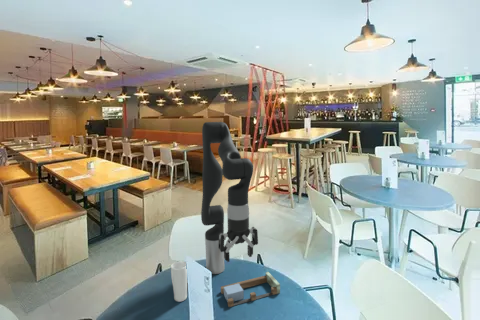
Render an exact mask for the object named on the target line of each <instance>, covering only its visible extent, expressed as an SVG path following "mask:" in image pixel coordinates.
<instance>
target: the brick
mask: <svg viewBox="0 0 480 320" xmlns="http://www.w3.org/2000/svg"><path fill="white" fill-rule="evenodd" d="M244 291H245V290H244V288H243V289H242V287H241V286H240V284H239V283H238V284H234V285H230V286H226V287H224V294H223V296H224V298H225V300H226V302H227V303H228V299H230V298H232V299H233V301H234V302H238V301H241V300H245V298H244V295H245V294H244Z"/></svg>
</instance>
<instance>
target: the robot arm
mask: <svg viewBox="0 0 480 320" xmlns="http://www.w3.org/2000/svg"><path fill="white" fill-rule="evenodd" d="M201 133H202V138H201V139H202V152H203V153H202V158H203V159H202V176H201V178H202V180H201V181H202V182H201V183H202V199H201V210H200V211H201V212H200V213H201V214H200V217H201V223H202V225H204V226H212V227H210V228H209V229H207V230H206V231H205V233H204V241H205V243H204V244H205V264H206V265H205V268H207V269H209V270H210V271H211V272H212V274H211V275H218V274H222V272H225V270H226V269H225V261H226V263H229V262H230V260H231V259H230V250H231V248H233V246H234V245H238V244H244V243H245V242H246V243H247V244H248V245H247V256H248V257H249V258H251V257H253V255H254V246H256V245H258V244H259V237H258V233H259V232H258V229H257V228H256V227H255V226H252V227H251V228H250V207H249V190H250V185H251V180H252V177H253V175H254V174H253V173H254V164H253V162H252V161H251V159H249V158H246V157H245V158H243V157H242V158H241V153H240V152H239V150H238V149H237V147H236V145H235V144H234V141H233V138H232V134H231V132H230V129H229V127H228V125H227V123H226V122H224V121H206V122H203V125H202V128H201ZM212 144H219V145H218V148H217V152H218V156H219V157H220V158H219V159H220V161H221V162H222V166H221V164H220V163H219V161H218V160H217V158H216V157H215V155H214V153H213V151H212V147H211V145H212ZM223 178H225V179H226V180H229V181H235V180H239V182H238V183H236V184H234V185H231V186H229V187H228V189H227V207H226V209H227V215H226V216H227V231H226V233H224V231H225V227H224V226H225V225H224V223H225V212H224V208H223V205H221V204H217V205H211V202H212V200H213V198H214V197H215V196H216V194H217V192H218V191H219V190H220V189H221V186H222V185H223ZM213 225H214V226H213ZM250 234H251V240H250V239H249V238H248V237H249V235H250ZM226 239H227V240H226ZM225 240H226V242H225Z"/></svg>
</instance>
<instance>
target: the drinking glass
mask: <svg viewBox="0 0 480 320" xmlns="http://www.w3.org/2000/svg"><path fill="white" fill-rule="evenodd" d="M186 263H187V262H186V261H183V260H182V261H181V260H180V261H175V262H173V263H172V264H170V266H171V267H170V276H171V282H172V289H173V299H174V301H175V302H179V303H180V302H183V301H185V300H186V299H188V298H187V297H188V280H187V269H186Z"/></svg>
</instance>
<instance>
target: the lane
mask: <svg viewBox="0 0 480 320" xmlns="http://www.w3.org/2000/svg"><path fill="white" fill-rule="evenodd" d="M238 283H239V284H240V286H241V287H242V289H243V290H244V289H247V288H251V287H254V286H255V287H256V286H258V285H262V284H266V283H267V284H268V285H269V287H270V292H268V293H262V294H259V295H257V293H256V292H254V291H252V292H250V293H249V298H244V299H241V300H238V301H233V299H232V298H230V299H228V302H227V307H228V308H231V307H236V306H239V305H242V304H246V303H249V302H252V301H256V300H260V299H263V298H267V297H270V296H274V295H279V294H281V283H280V282H279V281H278V280H277V279H276V278H275V277H274V276H273V275H272V274H271V273H270V272H269V271H266V272H265V275H262V276H257V277H254V278H249V279H246V280H243V281H238V282H234V283H229V284H226V285H222V286H220V293H221V294H222V295H224V287H226V286H230V285H234V284H238Z"/></svg>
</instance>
